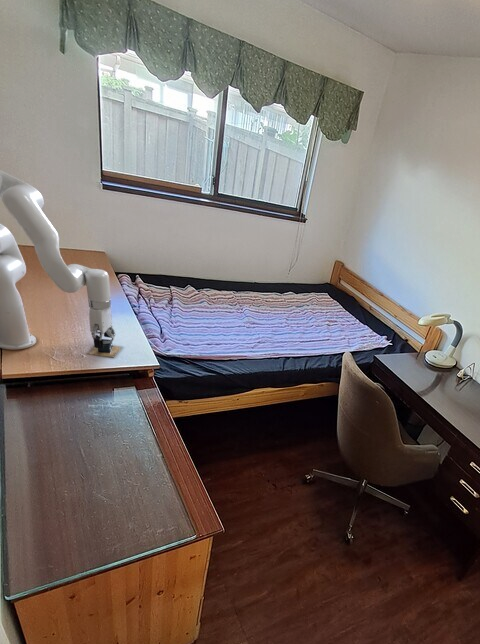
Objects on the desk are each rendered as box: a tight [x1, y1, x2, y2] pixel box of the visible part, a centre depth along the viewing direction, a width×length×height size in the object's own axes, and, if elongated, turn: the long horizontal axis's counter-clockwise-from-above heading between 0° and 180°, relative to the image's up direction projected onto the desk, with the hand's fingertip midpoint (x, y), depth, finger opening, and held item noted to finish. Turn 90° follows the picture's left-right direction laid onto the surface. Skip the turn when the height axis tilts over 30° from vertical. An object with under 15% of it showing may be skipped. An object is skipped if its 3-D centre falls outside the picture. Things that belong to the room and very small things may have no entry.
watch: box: [98, 326, 116, 353], centre depth 155 cm, size 6×8×11 cm
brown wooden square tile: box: [87, 345, 122, 359], centre depth 157 cm, size 10×9×1 cm
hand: (103, 342), depth 155 cm, fingers open, 9 cm apart
